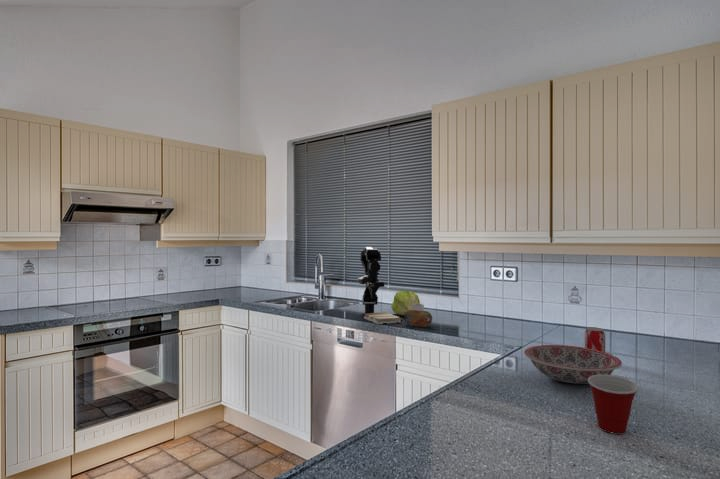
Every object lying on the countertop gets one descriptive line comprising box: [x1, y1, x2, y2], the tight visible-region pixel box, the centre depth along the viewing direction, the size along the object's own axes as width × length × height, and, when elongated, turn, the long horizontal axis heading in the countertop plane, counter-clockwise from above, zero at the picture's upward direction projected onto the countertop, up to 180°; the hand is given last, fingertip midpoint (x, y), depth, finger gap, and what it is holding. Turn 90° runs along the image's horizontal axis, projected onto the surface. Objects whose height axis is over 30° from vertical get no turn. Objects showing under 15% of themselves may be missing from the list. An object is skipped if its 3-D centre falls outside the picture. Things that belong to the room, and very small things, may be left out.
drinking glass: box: [412, 303, 425, 311], centre depth 238 cm, size 7×7×10 cm
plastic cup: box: [588, 374, 639, 434], centre depth 107 cm, size 11×11×12 cm
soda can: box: [584, 326, 606, 353], centre depth 167 cm, size 7×7×12 cm
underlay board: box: [363, 311, 402, 325], centre depth 245 cm, size 18×14×3 cm
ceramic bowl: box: [523, 344, 623, 385], centre depth 144 cm, size 29×29×8 cm
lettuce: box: [390, 290, 421, 316], centre depth 259 cm, size 17×24×14 cm
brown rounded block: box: [403, 310, 433, 328], centre depth 230 cm, size 15×3×8 cm, turn 62°
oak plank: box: [368, 312, 401, 322], centre depth 243 cm, size 14×13×2 cm
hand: (372, 297), depth 249 cm, fingers closed
